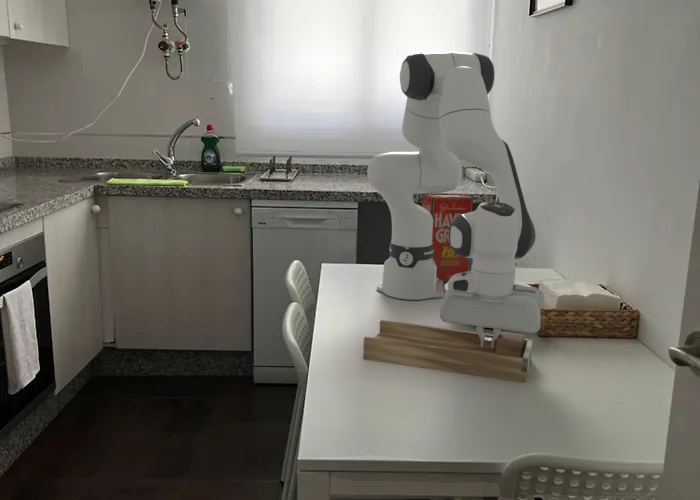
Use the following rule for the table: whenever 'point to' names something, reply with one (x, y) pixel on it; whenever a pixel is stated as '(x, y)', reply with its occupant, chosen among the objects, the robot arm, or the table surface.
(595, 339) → the table surface
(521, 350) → the walnut block
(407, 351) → the trap lane
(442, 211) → the food packaging
